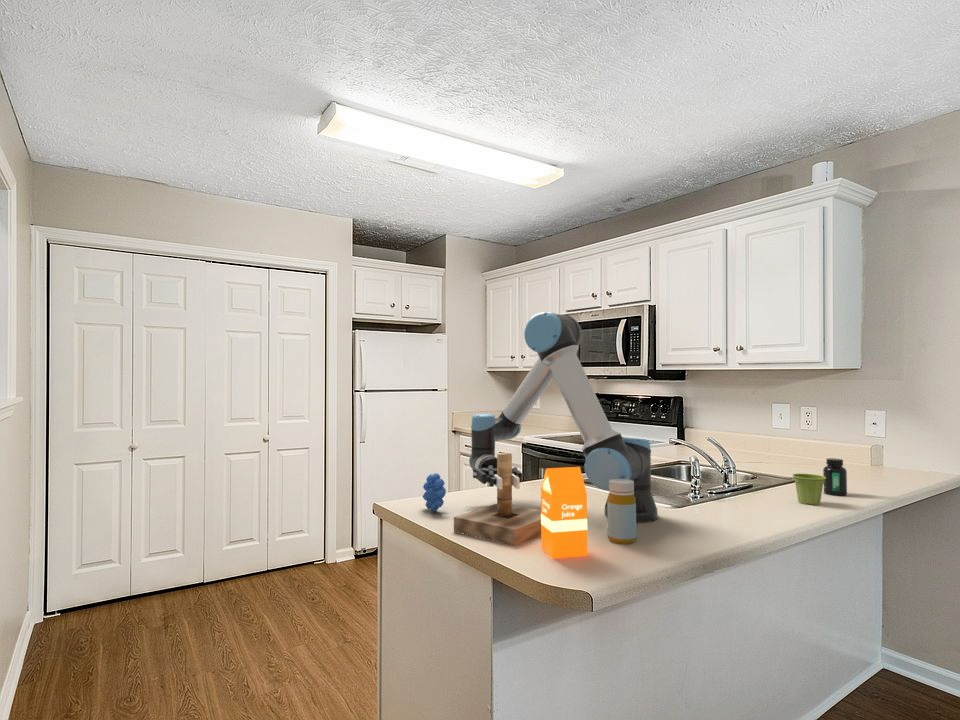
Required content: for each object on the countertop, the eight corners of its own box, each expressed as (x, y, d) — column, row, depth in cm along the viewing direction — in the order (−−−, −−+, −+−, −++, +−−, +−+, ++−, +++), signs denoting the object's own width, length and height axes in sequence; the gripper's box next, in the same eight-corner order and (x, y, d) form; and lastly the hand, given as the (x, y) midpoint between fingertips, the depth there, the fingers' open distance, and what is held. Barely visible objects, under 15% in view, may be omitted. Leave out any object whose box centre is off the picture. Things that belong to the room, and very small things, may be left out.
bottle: (605, 536, 147) (604, 478, 148) (632, 536, 147) (631, 478, 147) (610, 544, 140) (610, 483, 141) (639, 544, 140) (638, 483, 140)
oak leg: (515, 512, 154) (515, 453, 155) (506, 515, 151) (506, 455, 151) (502, 510, 157) (502, 452, 157) (493, 513, 154) (493, 454, 154)
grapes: (456, 513, 172) (455, 473, 172) (436, 516, 168) (436, 476, 168) (437, 506, 181) (436, 468, 182) (418, 509, 178) (418, 470, 178)
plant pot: (808, 498, 188) (807, 472, 189) (833, 505, 180) (833, 477, 180) (785, 500, 186) (785, 474, 186) (810, 507, 177) (810, 479, 177)
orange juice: (541, 548, 137) (540, 465, 138) (575, 545, 139) (574, 464, 140) (552, 559, 130) (551, 471, 130) (588, 555, 132) (587, 469, 132)
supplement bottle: (840, 497, 191) (839, 461, 191) (819, 493, 196) (819, 458, 197) (851, 494, 194) (850, 459, 194) (830, 491, 200) (829, 457, 200)
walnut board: (556, 527, 155) (556, 513, 155) (515, 545, 140) (515, 529, 140) (498, 516, 168) (497, 503, 168) (453, 531, 152) (453, 516, 152)
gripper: (517, 479, 173) (540, 496, 151) (462, 482, 170) (477, 499, 147) (517, 455, 174) (540, 468, 151) (462, 456, 170) (477, 470, 147)
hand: (509, 483), depth 149 cm, fingers closed on oak leg, 4 cm apart
